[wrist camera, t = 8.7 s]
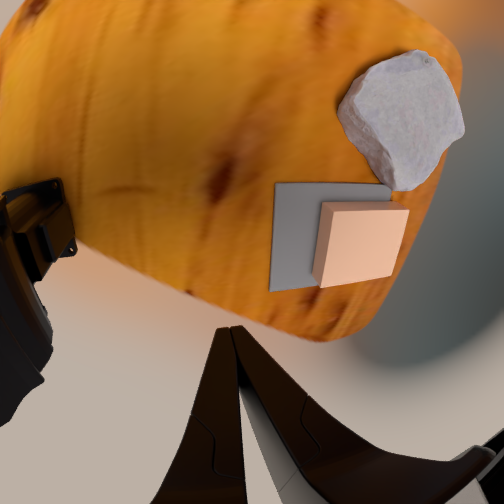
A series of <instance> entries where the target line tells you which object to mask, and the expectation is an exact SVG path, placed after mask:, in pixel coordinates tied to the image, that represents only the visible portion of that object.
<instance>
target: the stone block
mask: <svg viewBox="0 0 504 504" xmlns="http://www.w3.org/2000/svg"><path fill="white" fill-rule="evenodd" d="M337 116H338V118H339V121H340V122H341V124H342V126H343V128H344V131H345V134H346V135H347V137H348V139H349V141H351V142H352V144H353V145H355V146H356V148H357V149H358V151H359V152H361V153H362V154H363V155H364V156H365V158H366V159H367V162H368V164H369V165H370V167H371V169H372V170H373V172H374V173H375V175H376V176H377V177H378V179H379V181H381V182H382V183H383V184H385V185H386V186H387V187H388V188H390V189H391V190H393V191H401V192H402V191H411V190H413V189H414V188H416V187H417V186H418V185H420V184H421V183H423V182H424V181H425V180H426V178H428V177H429V175H430V174H431V172H432V171H433V170H434V168H435V167H436V166H437V164H438V162H439V159H440V157H441V155H442V153H443V151H444V150H445V149H446V148H447V147H449V146H450V144H451V143H452V142H453V141H455V140H457V139H459V138H461V137H462V136H463V134H464V130H465V127H464V123H463V119H462V112H461V109H460V106H459V103H458V100H457V97H456V94H455V92H454V89H453V86H452V85H451V82H450V80H449V78H448V76H447V74H446V73H445V72H444V70H443V69H442V67H441V66H440V64H439V63H438V62H437V60H436V59H435V58H434V57H430V56H429V55H428V54H427V52H425V51H421V50H417V49H415V50H411V51H408V52H406V53H404V54H402V55H399V56H394V57H393V58H391V59H388V60H385V61H382V62H380V63H378V64H376V65H374V66H372V67H370V68H369V69H368V70H367V71H366V72H365V73H364V74H362V75H360V76H359V77H358V78H356V79H355V80H354V81H353V82H352V85H351V87H350V89H349V90H348V92H347V93H346V95H345V97H344V99H343V101H342V102H341V103H340V104H339V108H338V111H337Z"/></svg>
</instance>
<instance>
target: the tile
mask: <svg viewBox="0 0 504 504" xmlns="http://www.w3.org/2000/svg"><path fill="white" fill-rule="evenodd" d="M408 214H409V209H407V208H406V207H404V206H403V205H401V204H399V203H398V202H396V201H354V202H322V208H321V216H320V224H319V231H318V238H317V245H316V252H315V258H314V264H313V271H312V276H313V277H314V279H315V280H316V282H317V283H318V285H319V286H320V288H323V287H330V286H336V285H342V284H348V283H354V282H359V281H365V280H371V279H376V278H382V277H387V276H391V274H392V271H393V268H394V265H395V261H396V258H397V255H398V252H399V248H400V245H401V241H402V237H403V234H404V230H405V226H406V222H407V218H408Z"/></svg>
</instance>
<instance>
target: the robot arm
mask: <svg viewBox="0 0 504 504" xmlns="http://www.w3.org/2000/svg"><path fill="white" fill-rule="evenodd" d="M54 182H56V183H57V187H55V186H54ZM6 196H7V198H6ZM74 234H75V232H74V228H73V224H72V220H71V216H70V211H69V207H68V204H67V203H66V201H65V196H64V191H63V186H62V182H61V180H60V179H59V178H52V179H47V180H43V181H39V182H35V183H31V184H28V185H24V186H20V187H17V188H13V189H10V190H7V191H5V192H3V193H2V196H0V427H1V426H3V425H4V424H6V423H7V422H9V421H10V420H11V418H12V416H13V415H14V413H15V411H16V409H17V407H18V405H19V404H20V402H21V401H22V400H23V398H24V397H25V396H26V395H27V394H28V393H29V392H30V391H31V390H32V389H34V388H36V387H37V386H39V385H40V384H42V383H43V382H44V378H43V376H42V375H41V374H40V372H41V371H42V370H43V368H44V367H45V365H46V364H47V363H48V361H49V359H50V357H51V354H52V352H53V346H52V345H51V344H52V336H53V330H52V327H51V323H50V321H49V319H48V317H47V310H46V308H45V306H43V305H42V303H41V301H40V299H39V297H38V294H37V292H36V290H35V288H34V284H35V283H36V282H37V281H42V279H43V277H44V276H45V274H46V273H47V271H48V269H49V268H50V266H51V265H52V263H55V262H56V261H57V259H58V258H63V257H70V256H74V255H75V254H76V253H77V250H78V249H77V245H76V241H75V238H74ZM70 248H72V249H73V251H71V250H70ZM239 392H240V395H241V398H242V401H243V404H244V406H245V409H246V412H247V415H248V418H249V420H250V423H251V426H252V429H253V431H254V434H255V437H256V439H257V442H258V445H259V447H260V450H261V452H262V455H263V457H264V460H265V462H266V465H267V467H268V470H269V472H270V475H271V477H272V480H273V482H274V485H275V487H276V489H277V492H278V494H279V496H280V499H281V501H282V503H283V504H504V428H503V429H502V430H500V431H499V432H498V433H497V434H495V435H494V436H493V437H492V438H490V439H489V440H488V441H487V442H486V443H485V444H483V445H482V446H478V445H474V446H472V447H470V448H468V449H467V450H465V451H464V452H462V453H461V454H460V455H458V456H456V457H455V458H453V459H452V460H450V461H436V460H429V459H422V458H416V457H410V456H405V455H399V454H394V453H391V452H387V451H384V450H382V449H380V448H378V447H376V446H374V445H372V444H371V443H369V442H368V441H366V440H365V439H363V438H362V437H360V436H359V435H357V434H356V433H354V432H353V431H352V430H350V429H349V428H347V427H346V426H345V425H343V424H342V423H340V422H339V421H338V420H337V419H335V418H334V417H333V416H331V415H330V414H329V413H328V412H327V411H326V410H324V409H323V408H322V407H321V406H320V405H319V404H318V403H317V402H316V401H315V400H314V399H313V398H311V396H308V394H307V393H306V392H305V391H304V390H303V389H302V388H301V387H300V386H299V385H298V384H297V383H296V382H295V380H294V379H293V378H292V377H291V376H290V375H289V374H288V373H286V371H285V370H284V369H283V368H282V367H281V366H280V365H279V364H278V363H277V362H276V361H275V360H274V359H273V358H272V357H271V356H270V355H269V354H268V352H267V351H265V349H264V348H263V347H262V346H261V345H260V344H259V343H258V342H257V341H256V340H255V338H253V336H252V335H251V334H250V333H249V332H248V331H247V330H246V329H245V328H244V327H243V326H242V325H239V326H231V327H230V328H229V327H223V328H217V329H216V332H215V335H214V338H213V341H212V344H211V348H210V351H209V354H208V358H207V361H206V364H205V367H204V371H203V374H202V377H201V380H200V384H199V387H198V390H197V394H196V397H195V400H194V404H193V407H192V410H191V415H190V417H189V420H188V423H187V427H186V430H185V433H184V435H183V439H182V441H181V444H180V446H179V448H178V450H177V453H176V455H175V457H174V459H173V461H172V464H171V466H170V468H169V470H168V472H167V474H166V476H165V478H164V480H163V482H162V484H161V487H160V488H159V490H158V492H157V494H156V495H155V497H154V498H153V500H152V501H151V503H150V504H248V502H247V493H246V482H245V470H244V469H245V468H244V457H243V443H242V429H241V415H240V400H239Z"/></svg>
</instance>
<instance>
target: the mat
mask: <svg viewBox="0 0 504 504" xmlns="http://www.w3.org/2000/svg"><path fill="white" fill-rule="evenodd" d="M391 192H392V190H391V189H390V188H388V187H387V186H386V185H385V184H373V183H338V182H294V183H275V194H274V213H273V231H272V248H271V264H270V280H269V292H274V291H281V290H288V289H296V288H303V287H310V286H316V285H318V283H317V282H316V280H315V279H314V277H313V276H312V271H313V264H314V258H315V252H316V245H317V238H318V231H319V224H320V216H321V208H322V202H354V201H390V197H391Z"/></svg>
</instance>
